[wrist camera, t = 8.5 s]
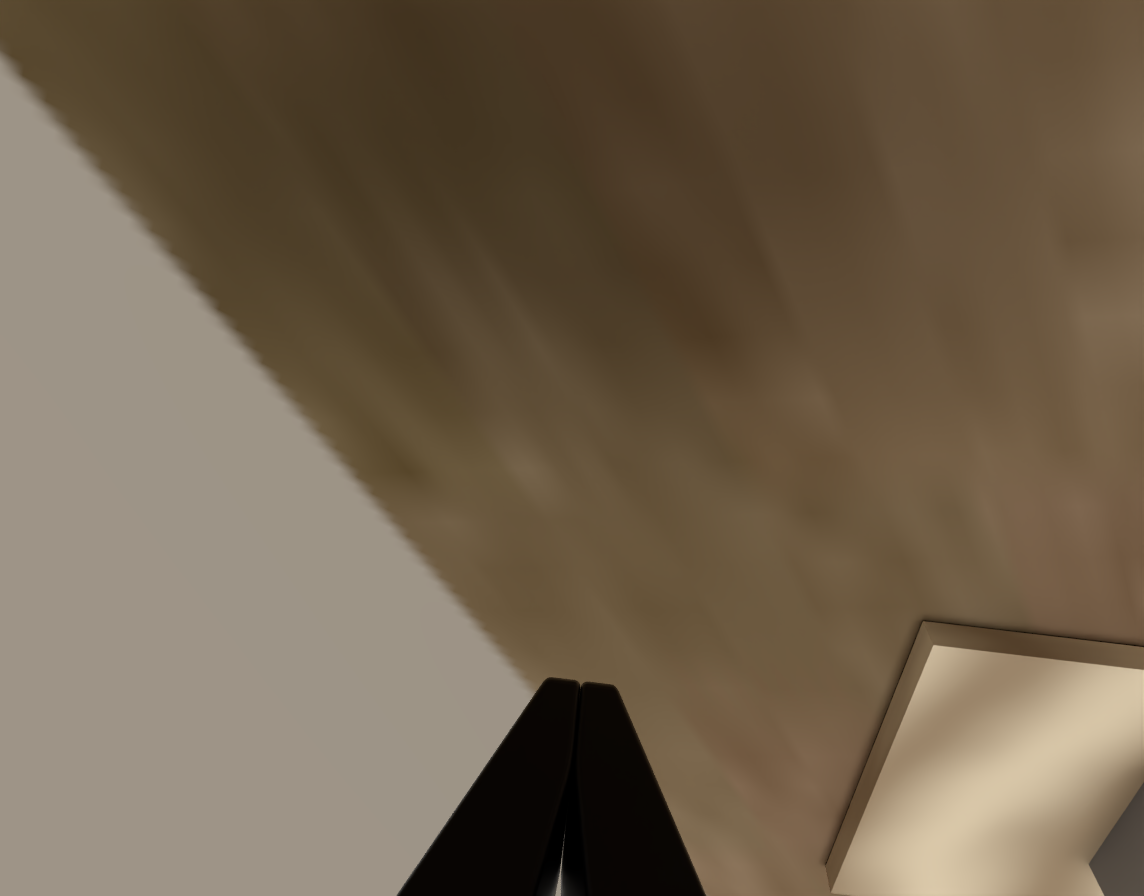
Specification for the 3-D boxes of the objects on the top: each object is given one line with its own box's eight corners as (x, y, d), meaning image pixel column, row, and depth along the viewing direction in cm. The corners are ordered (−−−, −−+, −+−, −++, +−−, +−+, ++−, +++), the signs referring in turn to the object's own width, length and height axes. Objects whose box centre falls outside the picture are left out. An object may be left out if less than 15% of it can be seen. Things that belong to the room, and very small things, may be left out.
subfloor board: (1517, 648, 22) (1557, 678, 21) (1247, 946, 30) (1267, 978, 29) (938, 581, 23) (951, 607, 22) (815, 890, 30) (821, 920, 29)
